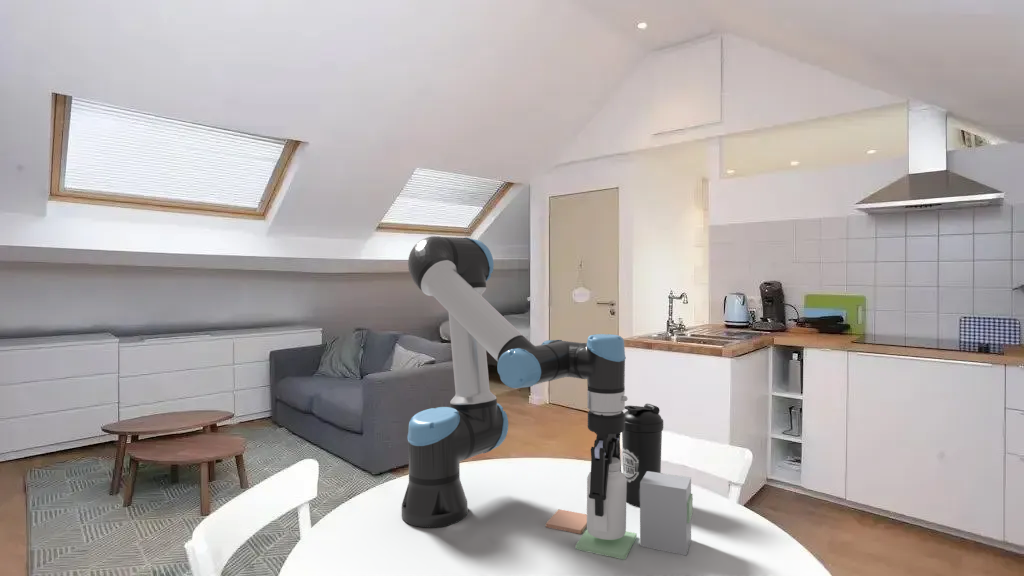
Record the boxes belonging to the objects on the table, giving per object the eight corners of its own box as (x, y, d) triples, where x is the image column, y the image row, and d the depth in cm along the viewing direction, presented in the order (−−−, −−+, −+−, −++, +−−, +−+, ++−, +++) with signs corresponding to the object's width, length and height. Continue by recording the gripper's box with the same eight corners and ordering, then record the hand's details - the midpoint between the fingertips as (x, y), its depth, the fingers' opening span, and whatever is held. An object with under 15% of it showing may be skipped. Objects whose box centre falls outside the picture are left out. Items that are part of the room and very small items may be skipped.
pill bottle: (626, 543, 109) (626, 467, 108) (585, 539, 110) (585, 464, 110) (626, 525, 116) (626, 454, 116) (588, 521, 118) (587, 452, 118)
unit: (638, 545, 112) (638, 482, 112) (645, 531, 118) (645, 470, 118) (688, 555, 108) (688, 489, 108) (693, 540, 114) (693, 477, 114)
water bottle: (612, 495, 137) (612, 403, 137) (646, 489, 141) (646, 399, 141) (637, 511, 128) (636, 413, 127) (672, 504, 132) (672, 408, 131)
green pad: (575, 549, 111) (575, 545, 111) (590, 528, 120) (590, 524, 120) (625, 559, 107) (625, 555, 107) (636, 537, 116) (636, 533, 116)
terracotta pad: (545, 527, 121) (545, 523, 121) (558, 512, 128) (558, 509, 128) (580, 534, 117) (580, 530, 117) (592, 518, 124) (592, 515, 124)
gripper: (610, 425, 102) (611, 548, 102) (635, 401, 120) (635, 505, 121) (572, 421, 105) (572, 539, 105) (602, 398, 124) (602, 499, 124)
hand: (606, 521), depth 113 cm, fingers closed on pill bottle, 8 cm apart
